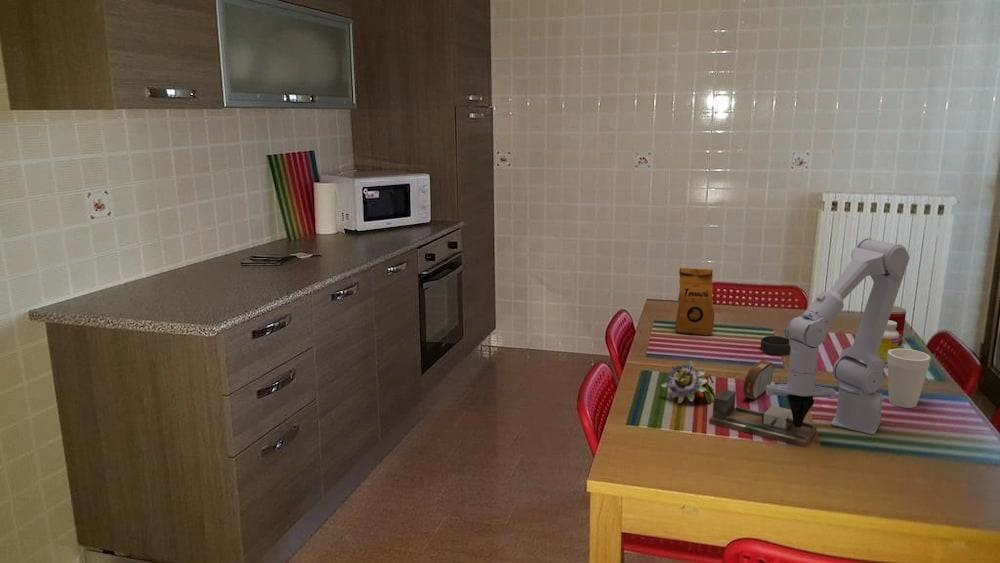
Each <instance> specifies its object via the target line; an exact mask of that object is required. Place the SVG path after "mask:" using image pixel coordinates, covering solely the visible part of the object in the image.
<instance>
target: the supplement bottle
mask: <svg viewBox="0 0 1000 563" xmlns="http://www.w3.org/2000/svg"><path fill="white" fill-rule="evenodd" d="M896 327H897V322H895V321H891V320H888V323H887V326H886V329H885V332H884V335H883V338H882V341H881V344H880V347H879V350H878V355H879V356H880V358H881V359H882V361H883V362H884V364H885V367H884V368H888V362H887V353H888V351H889V350H890V349H897V348H898V347H899V345H898V342H899V333H898V332H897V331H896V330H895V328H896ZM898 349H899V348H898Z"/></svg>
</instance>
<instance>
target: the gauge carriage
mask: <svg viewBox="0 0 1000 563" xmlns="http://www.w3.org/2000/svg"><path fill="white" fill-rule="evenodd" d="M762 413H763V414H762V423H763V425H764V426H769V427H773V428H777V429H781V430H785V431H786V430H787V429H788V428H789V426H790V425H791V424H792V420H793V416H792V411H791V408H785V407H780V406H777V405H776V406H775V405H771V406H769V407H766V409H765V410H764V411H763V412H762Z"/></svg>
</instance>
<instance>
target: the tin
mask: <svg viewBox="0 0 1000 563" xmlns="http://www.w3.org/2000/svg"><path fill="white" fill-rule="evenodd" d="M773 372H774V364H773V362H771V361H767V360H765V359H761V360H760V361H758V362H757V363H756V364H754V365H753V366H751V367H750V369H748V371H747V373H746V376H745V379H744V383H743V387H742V394H743V397H744V398H747V399H751V400H757V399H758V398H759V397H760V396H762V395H763V394H764V393H766V392H765V391H766V386H767V385H772V384H771V383H772V378H773Z"/></svg>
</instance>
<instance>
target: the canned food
mask: <svg viewBox="0 0 1000 563" xmlns="http://www.w3.org/2000/svg"><path fill="white" fill-rule="evenodd" d="M906 316H907V310H906V308H903V307H901V306H896V305H894V306H893V308H892V311H891V314H890V317H889V320H891V321H895V322H897V327H896V328H895V330H896V331H897V332H898V333H899V342H898V346H899V345H901V344H902V343H903V338H904V330H905V323H906Z"/></svg>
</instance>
